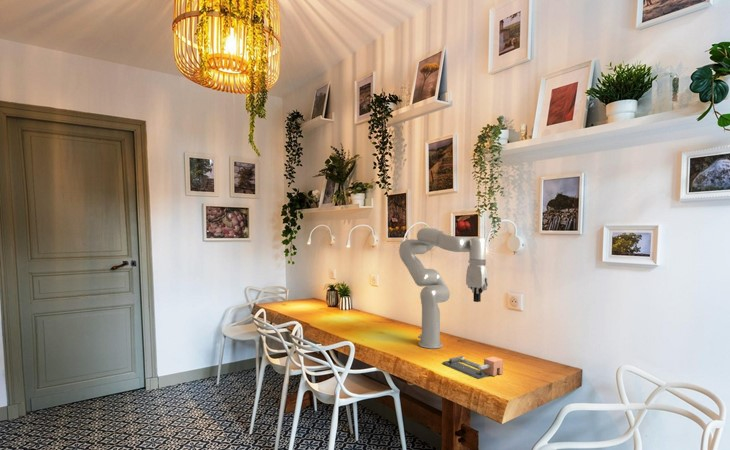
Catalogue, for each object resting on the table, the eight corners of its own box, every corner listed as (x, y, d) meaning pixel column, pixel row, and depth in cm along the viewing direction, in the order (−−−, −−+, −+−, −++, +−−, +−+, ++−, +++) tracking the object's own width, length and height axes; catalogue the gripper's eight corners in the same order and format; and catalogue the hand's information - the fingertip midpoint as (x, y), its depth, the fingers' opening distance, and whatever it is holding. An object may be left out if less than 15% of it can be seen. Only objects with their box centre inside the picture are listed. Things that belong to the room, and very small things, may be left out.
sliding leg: (474, 374, 159) (475, 360, 159) (493, 369, 165) (493, 356, 165) (484, 378, 154) (484, 364, 155) (502, 373, 160) (503, 359, 161)
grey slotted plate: (446, 362, 173) (446, 358, 174) (460, 359, 178) (460, 355, 178) (482, 377, 156) (482, 372, 156) (497, 374, 160) (497, 368, 160)
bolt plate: (442, 363, 172) (442, 361, 172) (452, 361, 175) (452, 359, 175) (478, 378, 154) (478, 376, 154) (488, 376, 157) (488, 374, 158)
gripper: (460, 262, 186) (459, 299, 186) (484, 264, 173) (484, 304, 173) (470, 262, 190) (470, 298, 190) (495, 264, 177) (495, 303, 177)
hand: (477, 301), depth 181 cm, fingers closed
